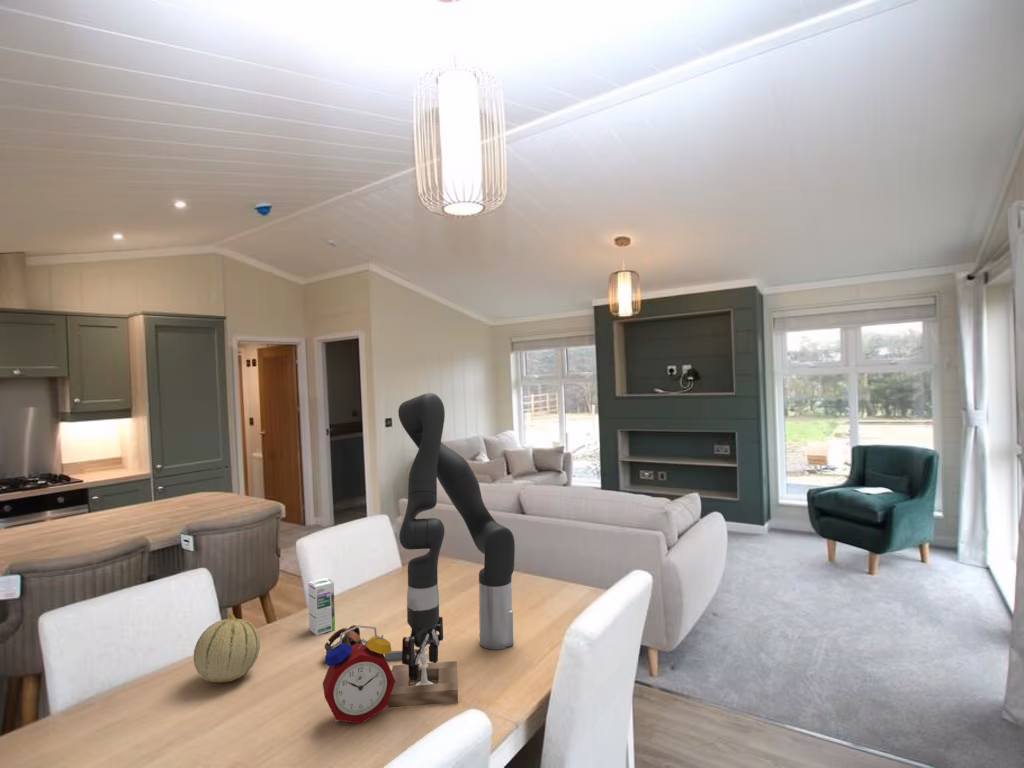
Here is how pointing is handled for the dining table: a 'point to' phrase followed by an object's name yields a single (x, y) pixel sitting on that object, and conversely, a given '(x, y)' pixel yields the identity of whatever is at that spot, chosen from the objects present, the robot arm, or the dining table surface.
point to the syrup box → (321, 606)
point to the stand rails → (395, 656)
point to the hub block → (425, 686)
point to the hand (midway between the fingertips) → (423, 670)
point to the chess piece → (424, 669)
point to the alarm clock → (358, 678)
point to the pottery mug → (345, 637)
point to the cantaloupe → (226, 650)
